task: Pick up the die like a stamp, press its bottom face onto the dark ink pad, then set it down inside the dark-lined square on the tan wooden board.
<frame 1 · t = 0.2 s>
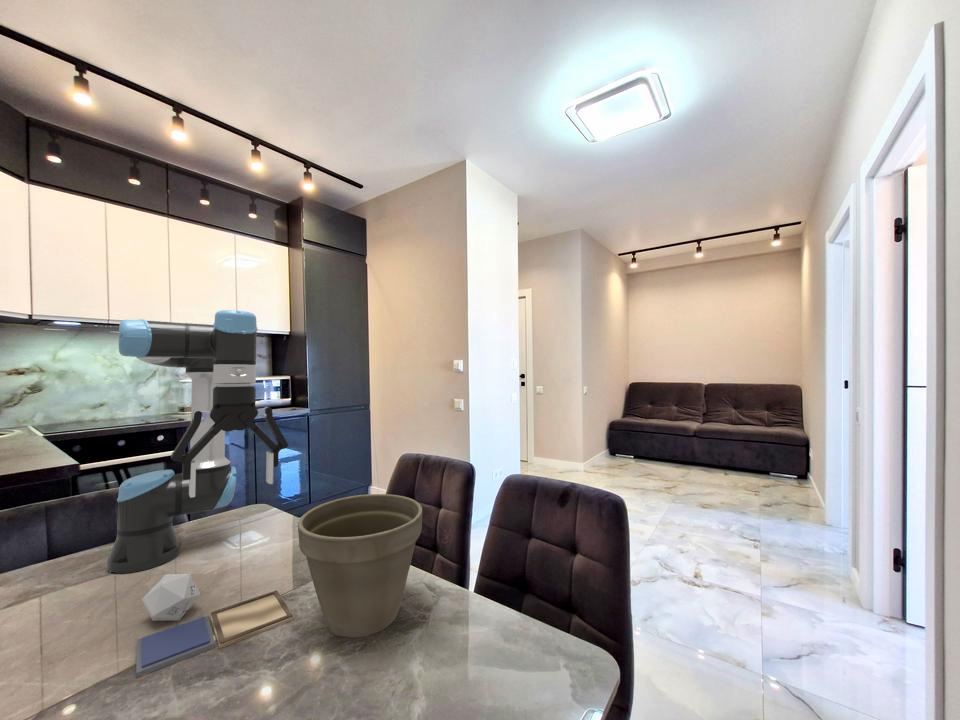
hand: (232, 489, 80), 27 cm above the table, fingers open, 13 cm apart
plant pot: (362, 617, 81), on the table
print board: (251, 618, 81), on the table
ink pad: (175, 645, 73), on the table
die: (171, 617, 82), on the table
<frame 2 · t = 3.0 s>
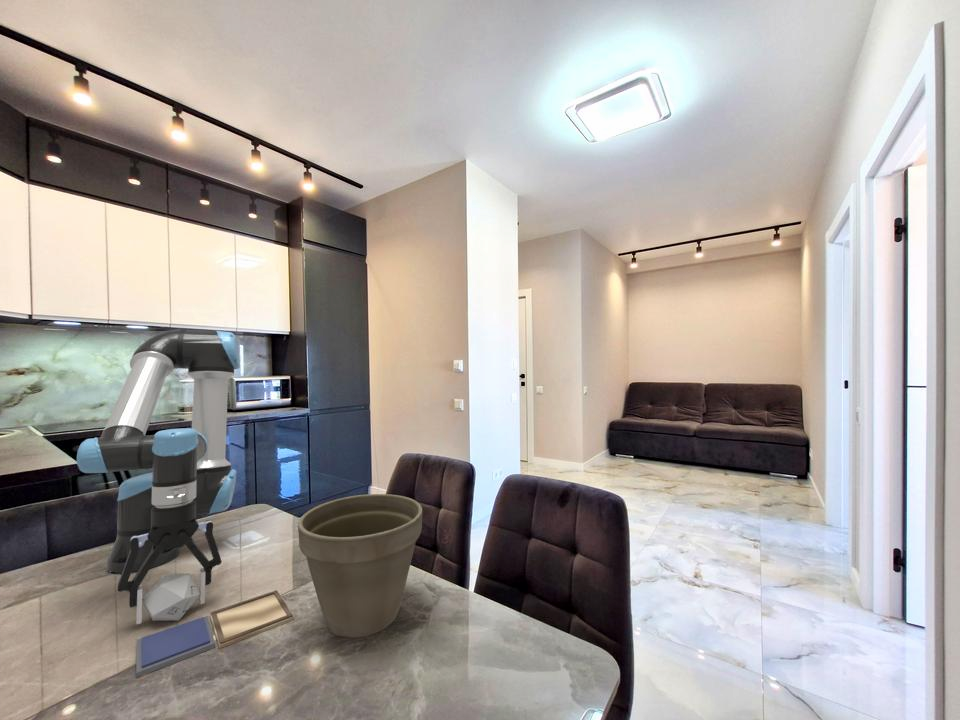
hand: (171, 610, 82), 1 cm above the table, fingers closed on die, 10 cm apart
die: (171, 617, 82), on the table, touching gripper
everything else where it was.
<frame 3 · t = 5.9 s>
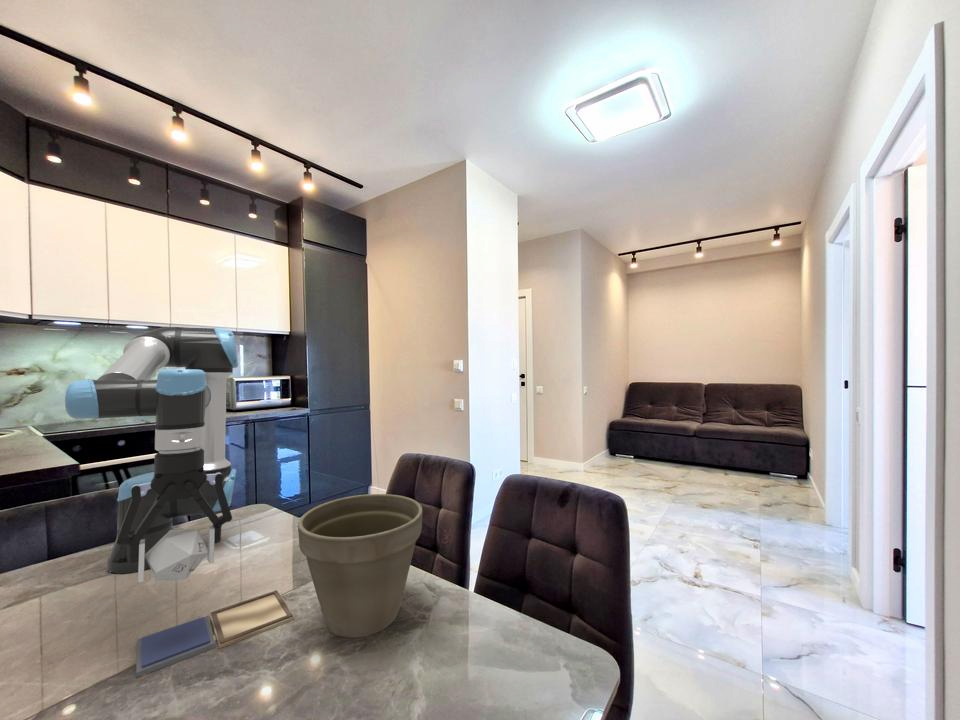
hand: (177, 569, 73), 14 cm above the table, fingers closed on die, 10 cm apart
die: (177, 576, 73), point 13 cm above the table, touching gripper
everything else where it was.
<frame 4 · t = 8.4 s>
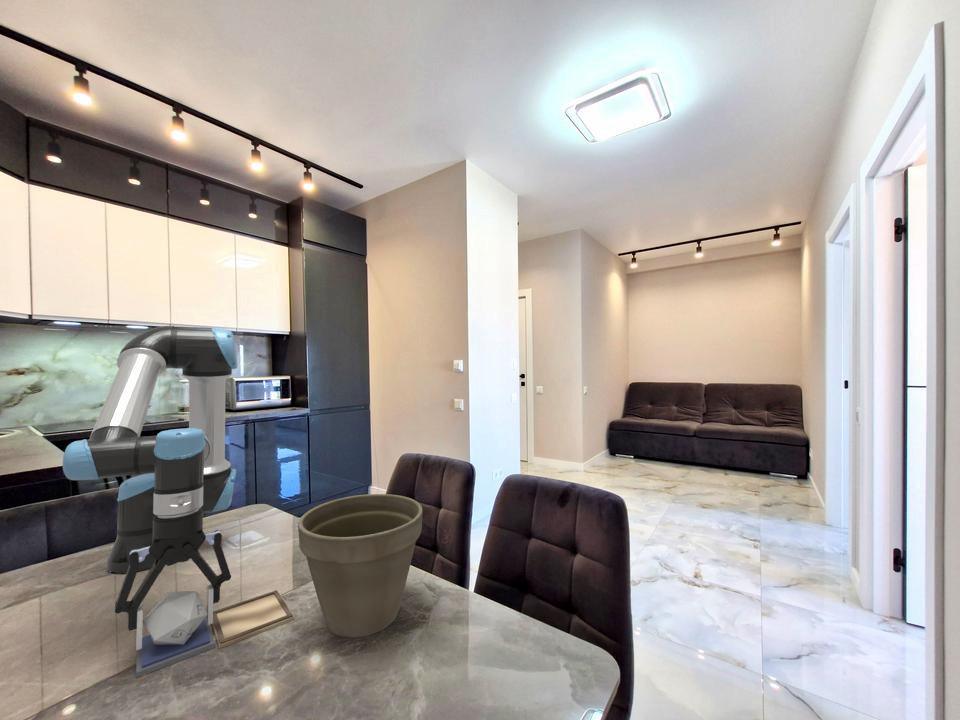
hand: (175, 632, 73), 2 cm above the table, fingers closed on die, 10 cm apart
die: (175, 640, 73), point 1 cm above the table, touching gripper, ink pad
everything else where it was.
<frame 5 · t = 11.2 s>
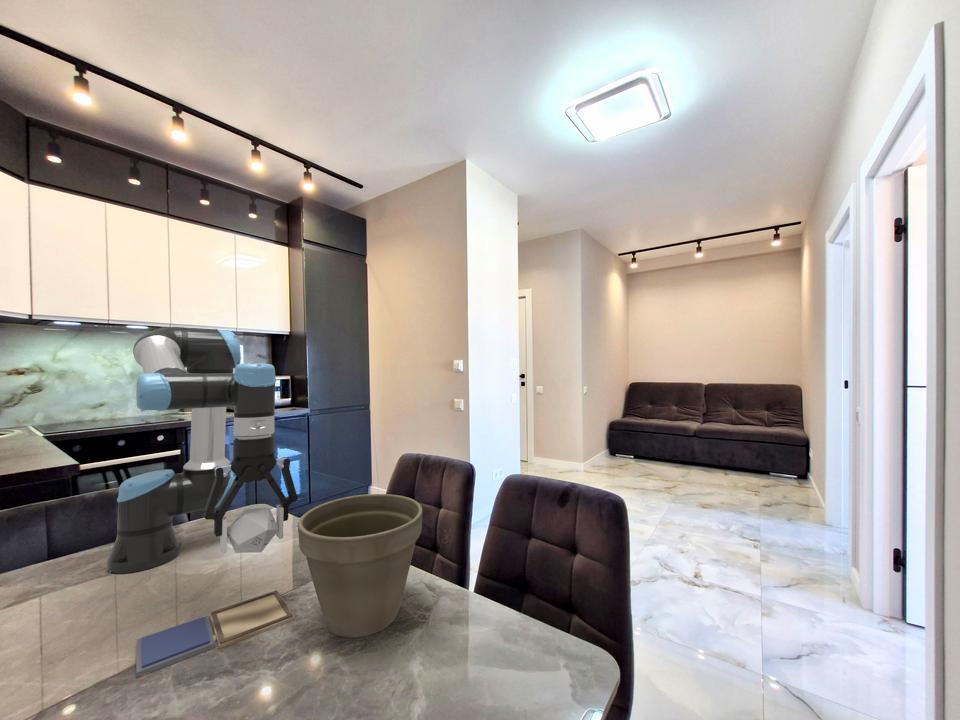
hand: (252, 543, 82), 15 cm above the table, fingers closed on die, 10 cm apart
die: (252, 550, 82), point 14 cm above the table, touching gripper
everything else where it was.
when the fingers open (3 cm above the table, at t = 13.8 s): die drops 1 cm, resting on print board.
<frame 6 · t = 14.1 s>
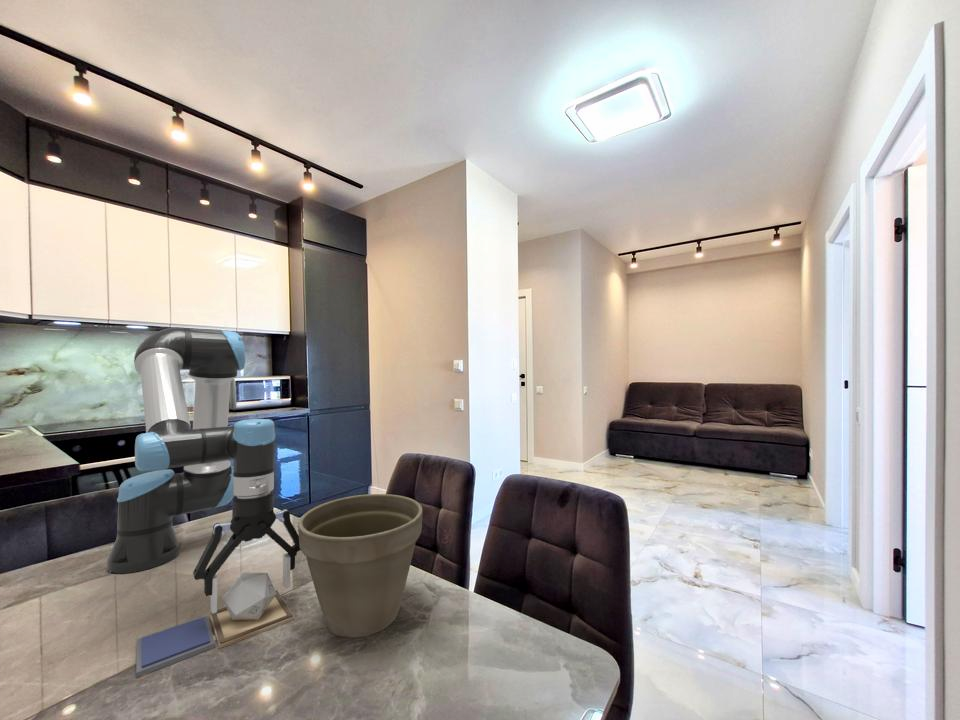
hand: (251, 597, 81), 4 cm above the table, fingers open, 13 cm apart
die: (249, 616, 81), resting on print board
everything else where it was.
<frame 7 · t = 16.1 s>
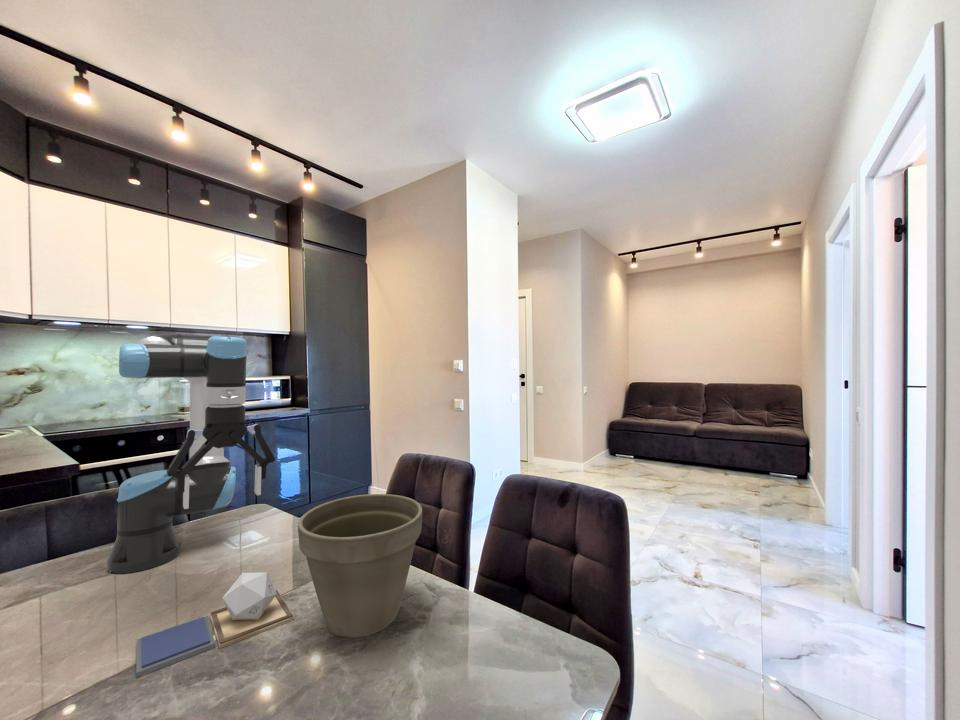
hand: (223, 500, 87), 23 cm above the table, fingers open, 13 cm apart
nothing on the table moved.
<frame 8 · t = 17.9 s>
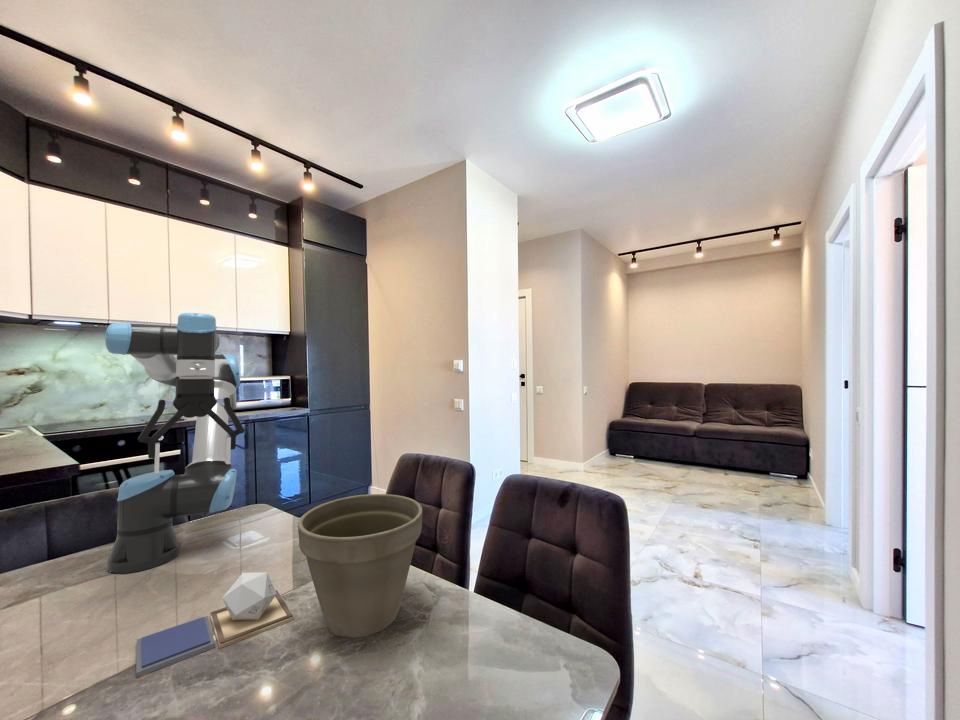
hand: (193, 467, 92), 29 cm above the table, fingers open, 13 cm apart
nothing on the table moved.
at the end: die 0.3 cm off-centre on the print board, point 0.4 cm above the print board's base; die tilted 0°; the gripper is holding nothing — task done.
